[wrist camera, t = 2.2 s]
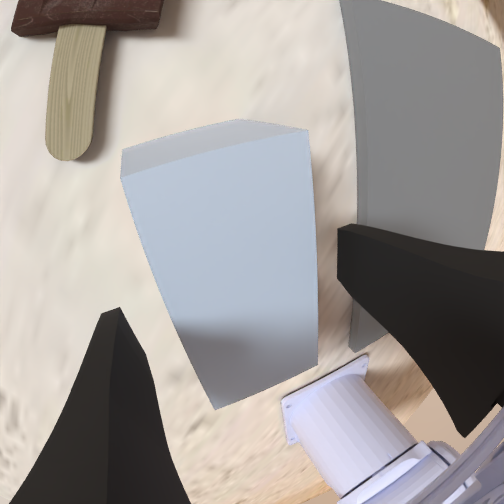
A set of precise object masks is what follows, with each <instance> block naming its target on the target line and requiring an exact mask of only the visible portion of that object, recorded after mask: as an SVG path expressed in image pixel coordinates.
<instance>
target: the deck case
mask: <svg viewBox="0 0 504 504" xmlns="http://www.w3.org/2000/svg"><path fill="white" fill-rule="evenodd" d="M120 179H121V182H122V185H123V189H124V192H125V195H126V198H127V202H128V205H129V208H130V211H131V214H132V217H133V220H134V223H135V226H136V229H137V232H138V235H139V238H140V240H141V243H142V246H143V249H144V252H145V254H146V257H147V260H148V262H149V265H150V268H151V270H152V273H153V276H154V278H155V281H156V283H157V286H158V288H159V291H160V293H161V296H162V298H163V301H164V303H165V305H166V308H167V310H168V313H169V315H170V317H171V320H172V322H173V324H174V327H175V329H176V331H177V333H178V336H179V338H180V340H181V342H182V344H183V347H184V349H185V351H186V353H187V355H188V357H189V360H190V362H191V364H192V366H193V368H194V370H195V372H196V374H197V376H198V378H199V380H200V382H201V384H202V386H203V388H204V390H205V392H206V394H207V396H208V398H209V400H210V402H211V404H212V406H213V408H214V409H215V410H217V409H219V408H222V407H225V406H227V405H230V404H232V403H235V402H237V401H240V400H242V399H245V398H247V397H249V396H252V395H254V394H257V393H259V392H261V391H264V390H266V389H268V388H270V387H273V386H275V385H277V384H279V383H281V382H283V381H286V380H288V379H290V378H292V377H294V376H296V375H298V374H300V373H302V372H304V371H306V370H308V369H310V368H312V367H314V366H316V365H318V279H317V248H316V227H315V209H314V194H313V180H312V167H311V156H310V145H309V134H308V130H304V129H299V128H294V127H288V126H283V125H277V124H271V123H264V122H258V121H251V120H243V119H235V120H230V121H226V122H221V123H217V124H212V125H208V126H203V127H199V128H195V129H191V130H187V131H183V132H180V133H176V134H172V135H168V136H165V137H161V138H158V139H154V140H151V141H148V142H144V143H141V144H138V145H135V146H132V147H129V148H125V149H122V159H121V175H120Z"/></svg>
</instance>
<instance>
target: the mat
mask: <svg viewBox="0 0 504 504" xmlns="http://www.w3.org/2000/svg"><path fill="white" fill-rule="evenodd" d="M340 5H341V10H342V16H343V22H344V28H345V34H346V41H347V48H348V55H349V63H350V71H351V80H352V90H353V101H354V114H355V129H356V148H357V184H358V213H357V224H359V225H365V226H370V227H374V228H378V229H383V230H387V231H391V232H395V233H399V234H403V235H407V236H410V237H414V238H419V239H423V240H427V241H431V242H436V243H440V244H445V245H450V246H456V247H462V248H469V249H476V250H484V248H485V244H486V240H487V236H488V232H489V227H490V223H491V218H492V213H493V208H494V202H495V196H496V190H497V183H498V176H499V168H500V158H501V147H502V130H503V82H502V66H501V55H500V48H499V47H497V46H495V45H493V44H492V43H490V42H488V41H486V40H484V39H482V38H480V37H478V36H476V35H474V34H472V33H470V32H468V31H465V30H463V29H461V28H459V27H457V26H454V25H452V24H449V23H447V22H445V21H442V20H440V19H437V18H434V17H432V16H429V15H426V14H424V13H421V12H418V11H415V10H412V9H409V8H406V7H402V6H399V5H396V4H392V3H389V2H385V1H381V0H340ZM387 333H389V332H388V331H387V330H386V329H385V328H384V327H383V326H382V325H381V324H380V323H379V322H377V321H376V320H375V319H374V318H373V317H372V316H371V315H370V314H369V313H368V312H367V311H366V310H365V309H364V308H363V307H362V306H361V305H359V304H358V303H357V302H356V301H355V300H354V299H353V310H352V321H351V330H350V339H349V347H350V348H351V349H352V351H353V352H354V353H356V352H358V351H359V350H361V349H363V348H364V347H366V346H368V345H370V344H371V343H373V342H374V341H376V340H378V339H379V338H381V337H383V336H384V335H386V334H387Z"/></svg>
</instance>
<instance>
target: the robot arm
mask: <svg viewBox="0 0 504 504" xmlns="http://www.w3.org/2000/svg"><path fill="white" fill-rule="evenodd" d="M337 279H338V280H339V281H340V282H341V284H342V285H343V286H344V288H345V289H346V290H347V291H348V293H349V294H350V295H351V296H352V297H353V299H354V300H355V301H356V302H357V303H358V304H359V305H361V306H362V307H363V308H364V309H365V310H366V311H367V312H368V313H369V314H370V315H371V316H372V317H373V318H374V319H375V320H376V321H377V322H379V323H380V324H381V325H382V326H383V327H384V328H385V329H386V330H387V331H388V332H389V333H390V334H391V335H392V336H393V337H394V338H395V339H396V340H397V341H398V342H399V343H400V344H401V345H402V346H403V347H404V348H405V350H406V351H407V352H408V353H409V355H410V356H411V357H412V358H413V360H414V361H415V362H416V363H417V365H418V366H419V367H420V369H421V370H422V371H423V373H424V374H425V376H426V377H427V378H428V380H429V381H430V383H431V384H432V386H433V387H434V389H435V390H436V392H437V394H438V395H439V397H440V399H441V400H442V402H443V404H444V405H445V407H446V409H447V411H448V413H449V415H450V417H451V419H452V420H453V423H454V425H455V427H456V429H457V431H458V432H459V433H460V434H461V435H462V436H463V437H464V438H465V437H467V435H468V434H469V433H471V431H472V430H473V429H474V428H475V427H476V426H477V425H478V424H479V423H480V422H481V421H482V420H483V419H484V418H485V417H486V415H487V414H488V413H489V412H490V411H491V410H492V409H493V407H494V406H495V405H496V404H497V403H498V404H499V405H500V406H501V407H502V409H501V410H500V411H499V413H498V414H497V415H496V416H495V418H494V419H493V420H492V421H491V422H490V424H489V425H488V426H487V427H486V428H485V429H484V431H483V432H482V433H481V434H480V435H479V436H478V437H477V438H476V440H475V441H474V442H473V443H472V444H471V445H470V446H469V447H468V448H467V449H466V450H465V451H464V453H462V454H461V455H460V454H459V453H458V452H457V451H456V450H455V449H454V448H452V447H451V446H450V445H448V444H447V443H445V442H443V441H430V442H429V443H427V444H426V443H425V442H424V441H421V442H420V443H418V442H417V441H416V439H415V438H414V437H413V436H412V435H411V434H410V433H409V432H408V430H407V429H406V428H405V427H404V426H403V425H402V424H401V423H400V421H399V420H398V419H397V418H396V417H395V416H394V415H393V414H392V412H391V411H390V410H389V409H388V408H387V407H386V406H385V404H384V403H383V402H382V401H381V400H380V399H379V398H378V397H377V395H376V394H375V393H374V392H373V391H372V390H371V389H370V388H369V386H368V385H367V384H366V383H365V382H364V380H365V376H366V371H367V367H368V363H369V357H368V356H367V355H363V356H361V357H359V358H358V359H356V360H354V361H353V362H351V363H349V364H347V365H346V366H344V367H342V368H340V369H338V370H337V371H335V372H333V373H331V374H329V375H327V376H326V377H324V378H322V379H320V380H318V381H316V382H314V383H312V384H310V385H308V386H306V387H304V388H302V389H300V390H298V391H296V392H294V393H292V394H290V395H288V396H286V397H284V398H283V399H282V400H281V406H282V413H283V419H284V426H285V432H286V438H287V443H288V444H289V445H292V444H295V443H297V442H299V443H300V444H301V446H302V447H303V449H304V451H305V452H306V454H307V455H308V457H309V458H310V460H311V461H312V463H313V464H314V466H315V467H316V469H317V470H318V472H319V473H320V475H321V476H322V478H323V479H324V481H325V482H326V483H327V484H328V485H329V486H330V487H331V488H333V490H334V491H335V492H336V494H337V495H338V496H339V498H340V499H341V500H339V501H337V504H504V442H502V443H501V444H500V445H499V446H498V447H497V445H498V444H499V443H500V442H501V440H502V439H503V438H504V252H499V251H486V250H476V249H469V248H462V247H456V246H450V245H445V244H440V243H436V242H431V241H427V240H423V239H419V238H414V237H410V236H407V235H403V234H399V233H395V232H391V231H387V230H383V229H378V228H374V227H370V226H365V225H359V224H349V225H346V226H344V227H341V228H338V253H337ZM496 447H497V448H496ZM495 448H496V449H495ZM494 449H495V450H494ZM493 450H494V451H493ZM480 465H481V466H480ZM479 466H480V467H479ZM478 468H479V469H478ZM477 469H478V470H477ZM476 470H477V472H476V473H475V471H476ZM9 504H191V503H190V501H189V498H188V496H187V494H186V492H185V490H184V488H183V485H182V483H181V481H180V478H179V476H178V473H177V471H176V468H175V466H174V463H173V461H172V458H171V455H170V452H169V448H168V445H167V441H166V437H165V433H164V428H163V424H162V419H161V414H160V410H159V405H158V400H157V395H156V390H155V385H154V381H153V377H152V374H151V370H150V367H149V364H148V360H147V357H146V354H145V352H144V350H143V349H142V347H141V345H140V343H139V342H138V340H137V338H136V336H135V334H134V333H133V331H132V329H131V327H130V325H129V323H128V322H127V320H126V318H125V316H124V314H123V312H122V310H121V308H120V307H119V308H116V309H113V310H110V311H107V312H104V313H102V314H101V316H100V318H99V320H98V323H97V325H96V328H95V330H94V333H93V336H92V338H91V341H90V343H89V346H88V349H87V351H86V354H85V357H84V359H83V362H82V364H81V367H80V370H79V372H78V375H77V377H76V380H75V382H74V384H73V387H72V389H71V392H70V394H69V397H68V399H67V401H66V404H65V406H64V408H63V410H62V412H61V415H60V417H59V419H58V421H57V423H56V425H55V427H54V429H53V431H52V433H51V435H50V437H49V439H48V441H47V442H46V444H45V446H44V448H43V450H42V451H41V453H40V455H39V457H38V459H37V461H36V462H35V464H34V466H33V468H32V469H31V471H30V472H29V474H28V476H27V477H26V479H25V481H24V482H23V484H22V485H21V487H20V488H19V490H18V491H17V493H16V494H15V496H14V497H13V499H12V500H11V502H10V503H9Z"/></svg>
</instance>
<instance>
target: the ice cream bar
mask: <svg viewBox="0 0 504 504" xmlns="http://www.w3.org/2000/svg"><path fill="white" fill-rule="evenodd" d="M163 2H164V0H19V1H18V4H17V8H16V11H15V15H14V19H13V22H12V26H11V31H12V32H13V33H15V34H17V35H18V36H29V35H40V34H47V33H53V32H58V34H57V39H56V44H55V49H54V55H53V61H52V67H51V74H50V82H49V91H48V101H47V113H46V131H45V140H46V146H47V149H48V151H49V153H50V154H51V155H52V156H53V157H54V158H56V159H58V160H61V161H70V160H74V159H76V158H78V157H80V156H81V155H82V154H83V153H84V152H85V151H86V150H87V149H88V147H89V145H90V143H91V141H92V136H93V125H94V112H95V101H96V92H97V84H98V76H99V69H100V63H101V57H102V51H103V45H104V40H105V35H106V30H108V31H132V30H146V29H156V28H157V25H158V23H159V20H160V15H161V11H162V6H163Z"/></svg>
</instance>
